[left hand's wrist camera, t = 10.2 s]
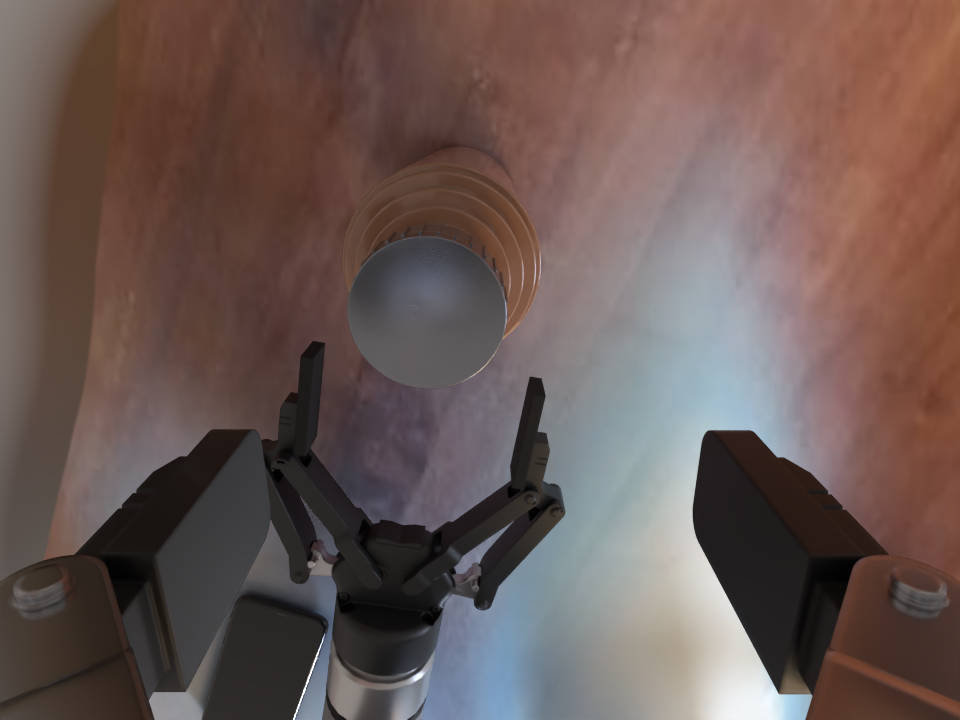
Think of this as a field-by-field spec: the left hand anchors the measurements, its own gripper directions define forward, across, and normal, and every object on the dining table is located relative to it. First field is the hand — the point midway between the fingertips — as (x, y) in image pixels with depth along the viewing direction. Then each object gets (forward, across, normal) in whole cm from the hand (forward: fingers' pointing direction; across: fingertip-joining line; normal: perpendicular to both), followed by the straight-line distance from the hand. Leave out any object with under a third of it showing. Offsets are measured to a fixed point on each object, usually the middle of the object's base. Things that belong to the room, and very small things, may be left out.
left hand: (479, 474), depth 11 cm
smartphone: (+31, +19, +38) cm, 53 cm away
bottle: (+31, +1, -1) cm, 31 cm away
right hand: (+25, +3, +8) cm, 26 cm away
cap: (+7, +2, -1) cm, 7 cm away
